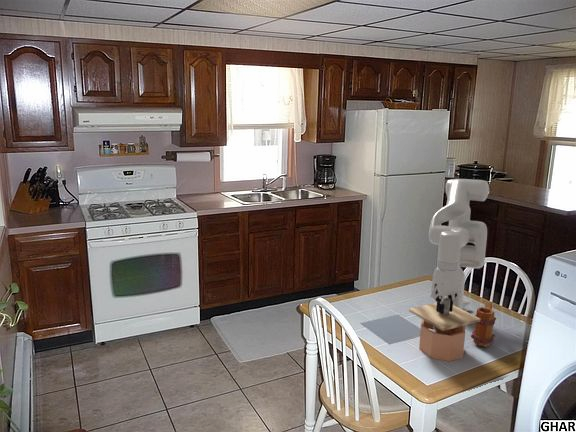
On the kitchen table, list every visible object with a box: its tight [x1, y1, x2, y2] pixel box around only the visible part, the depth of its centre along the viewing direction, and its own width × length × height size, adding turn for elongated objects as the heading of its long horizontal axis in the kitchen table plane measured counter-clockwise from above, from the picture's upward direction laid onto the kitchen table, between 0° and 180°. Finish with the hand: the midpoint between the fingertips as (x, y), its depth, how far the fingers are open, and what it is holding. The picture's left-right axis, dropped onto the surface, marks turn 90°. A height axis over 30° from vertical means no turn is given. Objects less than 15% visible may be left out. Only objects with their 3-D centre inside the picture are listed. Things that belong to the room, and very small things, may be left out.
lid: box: [408, 297, 481, 331], centre depth 174 cm, size 18×18×7 cm
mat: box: [360, 314, 421, 345], centre depth 194 cm, size 20×20×1 cm
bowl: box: [418, 319, 466, 362], centre depth 177 cm, size 16×16×10 cm
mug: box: [470, 301, 497, 347], centre depth 183 cm, size 15×8×15 cm, turn 148°
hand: (444, 311), depth 175 cm, fingers closed on lid, 3 cm apart
